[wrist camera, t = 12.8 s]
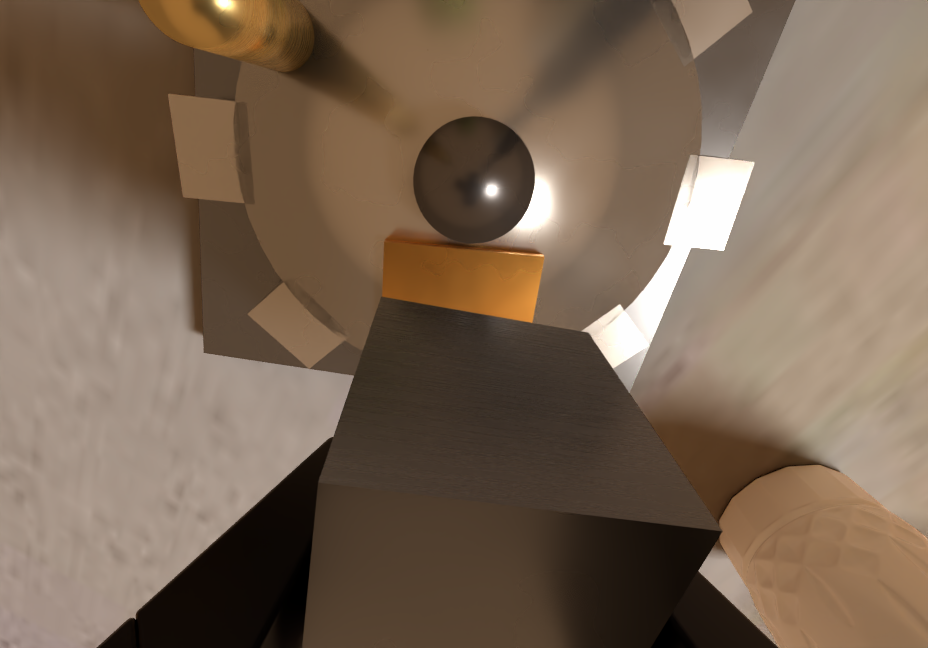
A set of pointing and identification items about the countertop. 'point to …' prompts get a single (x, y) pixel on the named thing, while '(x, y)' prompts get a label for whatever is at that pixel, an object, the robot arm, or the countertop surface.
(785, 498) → the white cup
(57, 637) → the countertop surface
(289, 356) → the base plate
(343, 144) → the grey cog wheel
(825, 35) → the countertop surface
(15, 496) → the countertop surface
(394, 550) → the taupe rectangular block
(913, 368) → the countertop surface
